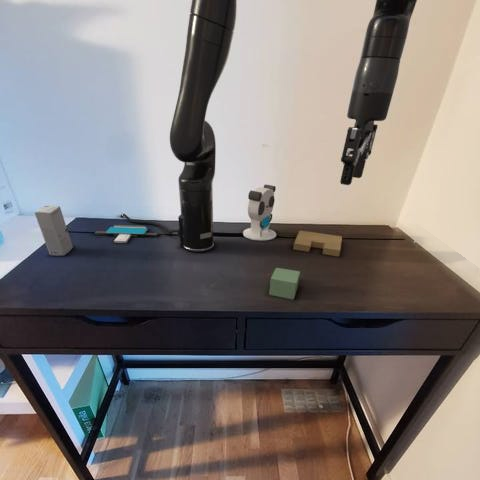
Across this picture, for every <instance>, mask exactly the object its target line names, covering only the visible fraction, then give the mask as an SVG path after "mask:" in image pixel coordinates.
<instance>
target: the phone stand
mask: <svg viewBox="0 0 480 480" xmlns="http://www.w3.org/2000/svg"><path fill="white" fill-rule="evenodd" d="M148 231H149V229H148V228H147V225H133V224H132V225H131V224H113V226H110V227H109V228H108V229H107V230H96V231H94V235H95V236H96V235H97V236H116V237H115V239H114V240H113V243H114V244H127V243H128V242H129V240H130V239H131V237H142V238H143V237H144V238H157V237H158V235H159V234H158V232H148Z"/></svg>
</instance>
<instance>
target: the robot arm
mask: <svg viewBox="0 0 480 480" xmlns="http://www.w3.org/2000/svg"><path fill="white" fill-rule="evenodd" d="M417 1H418V0H376V1H375V4H374V5H375V6H374V10H373V14H372V18H371V19H370V20H369V22H368V24H367V27H366V31H365V36H364V39H363V44H362V49H361V53H360V58H359V62H358V65H357V68H356V71H355V76H354V80H353V84H352V89H351V94H350V99H349V103H348V109H347V114H346V117H347V118H348V119H349V120H355V123H354V126H349V127H348V128H347V132H346V136H345V141H344V144H343V149H342V154H341V157H340V162H341V163H342V165H343V168H342V171H341V176H340V181H339V183H340V184H341V185H346V186H350V185H351V184H352V182H353V179H354V178H356V179H360V178H362V177H363V173H364V170H365V166H366V162H367V160H368V158H369V156H371V154H372V150H373V146H374V141H375V138H376V133H377V130H378V124H375V122H383V121H385V120H386V119H387V117H388V113H389V109H390V106H391V102H392V98H393V94H394V91H395V87H396V85H397V80H398V76H399V71H400V64H401V59H402V57H403V56H402V55H403V52H404V49H405V45H406V42H407V37H408V32H409V28H410V24H411V23H410V22H411V18H412V16H413V14H414V11H415V7H416V4H417ZM237 2H238V0H191V5H190V11H189V18H188V25H187V33H186V41H185V42H186V43H185V50H184V57H183V63H182V68H181V69H182V70H181V77H180V84H179V90H178V96H177V100H176V103H175V109H174V112H173V116H172V121H171V125H170V129H169V145H170V150H171V152H172V154H173V155H174V157H175V158H176V159H177V160H178V161H179V162H182V163H183V164H184V165H183V169H182V171H181V173H180V174H179V175H178V180H177V181H178V193H179V205H180V208H179V209H180V214H179V215H178V218H177V219H178V229H171V230H169V231H168V230H167V229H166V227H165V226H164V225H162V224H160V223H159V222H154V221H142V220H141V221H140V220H134V219H131V218H130V217H129V216H128V215H126V214H125V213H122V214H123V216H122V214H120V216H119V218H123V217H124V218H125V219H126V220H127V221H129V222H130V223H134V224H139V225H153V226H157V227H159V228H161V229H162V230H163V232H164V233H165V234H166V235H168V236H171V235H172V234H173V233H177V238H179V242H180V248H181V249H183V250H185V251H188V252H192V253H205V252H208V251H211V250H213V249H214V247H215V243H214V205H213V204H214V199H213V197H214V195H213V194H214V191H213V189H214V188H213V187H214V186H213V182H214V178H215V176H216V175H215V174H216V158H217V157H216V153H217V152H216V151H217V150H216V148H217V145H216V143H217V141H216V135H215V132H214V130H213V127H212V125H211V124H210V123H209V122H208V121H207V120H206V116H207V110H208V106H209V102H210V99H211V97H212V95H213V92H214V91H215V88H216V86H217V84H218V82H219V80H220V78H221V77H222V74H223V72H224V69H225V68H226V65H227V62H228V59H229V56H230V52H231V47H232V41H233V38H234V33H235V28H236V21H237V10H238V9H237V6H238V3H237Z"/></svg>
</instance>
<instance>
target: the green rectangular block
mask: <svg viewBox="0 0 480 480" xmlns="http://www.w3.org/2000/svg"><path fill="white" fill-rule="evenodd" d="M300 276H301V271H299V270H294V269H289V268H288V269H286V268H282V267H276V268H275V269H274V271H273V273H272V275H271V278H270V283H269V290H268V291H269V292H268V295H269V296H272V297H278V298H283V299H288V300H295V297H296V294H297V291H298V288H299V284H300V283H299V281H300Z"/></svg>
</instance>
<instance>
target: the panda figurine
mask: <svg viewBox="0 0 480 480" xmlns="http://www.w3.org/2000/svg"><path fill="white" fill-rule="evenodd" d="M276 189H277V188H276V186H275V185H271V184H264V185H263V187H257V188H255V189H253V190H249V192H248V196H247V197H248V205H247V214H248V215H247V216H248V217H249V219H250V227H248V228H245V229H244V230H243V231H242V235H243V237H245V238H246V239H249V240H252V241H258V242H260V241H261V242H264V241H265V242H266V241H271V240H274V239H275V238H276V237H277V233H276V231H274V230H273V229H270V226H271V221H272V219H273V209H274V205H275V201H276V199H275V193H276Z"/></svg>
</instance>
